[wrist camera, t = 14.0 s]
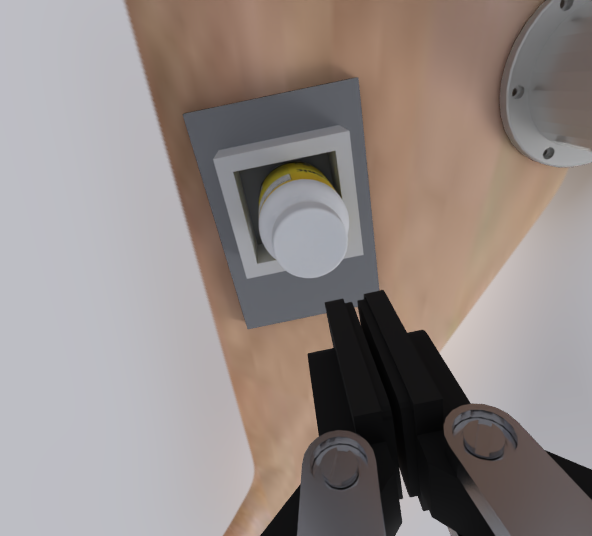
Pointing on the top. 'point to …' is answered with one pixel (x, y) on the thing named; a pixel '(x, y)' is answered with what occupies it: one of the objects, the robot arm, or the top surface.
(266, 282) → the collar stand
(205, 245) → the top surface
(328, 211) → the supplement bottle
